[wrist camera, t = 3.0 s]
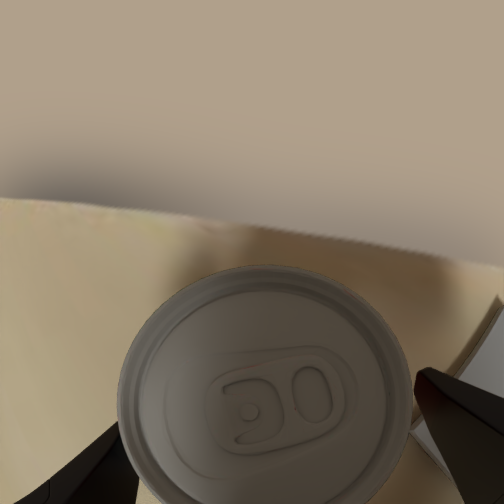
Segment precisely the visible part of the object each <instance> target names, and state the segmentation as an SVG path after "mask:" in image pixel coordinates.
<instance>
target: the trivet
mask: <svg viewBox="0 0 504 504" xmlns="http://www.w3.org/2000/svg"><path fill="white" fill-rule="evenodd" d="M454 378H457V379H459V380H461V381H464V382H466V383H469V384H471V385H473V386H476V387H478V388H481V389H483V390H485V391H488V392H490V393H493V394H495V395H498V396H500V397H503V398H504V306H502V307H500V308H499V309H498V311H497V312H496V314H495V316H494V318H493V319H492V321H491V323H490V324H489V326H488V328H487V329H486V331H485V333H484V334H483V336H482V337H481V339H480V340H479V342H478V343H477V345H476V346H475V348H474V349H473V351H472V352H471V354H470V355H469V357H468V358H467V359H466V361H465V362H464V364H463V365H462V366H461V368H460V369H459V370H458V372H457V373H456V374H455V376H454ZM409 433H410V434H411V435H412V436H413V437H414V439H415V440H416V441H417V442H418V443H419V444H420V446H421V447H422V448H423V449H424V450H425V451H426V452H427V454H428V455H429V456H430V457H431V458H432V459H433V461H434V462H435V463H436V464H437V465H438V466H439V468H440V469H441V470H442V471H443V472H444V473H445V475H446V476H447V477H448V478H449V479H450V480H451V481H452V483H453V484H454V485H455V486H456V484H455V482H454V480H453V478H452V476H451V473H450V471H449V469H448V467H447V465H446V463H445V462H444V460H443V458H442V456H441V454H440V452H439V450H438V448H437V446H436V444H435V442H434V440H433V439H432V437H431V435H430V433H429V430H428V428H427V425H426V423H425V420H424V418H423V415H422V414H421V416H420V417H419V418H418V419H417V420H416V421H415V422H414V423H413V424H412V425H411V426H410V431H409ZM456 487H457V486H456Z"/></svg>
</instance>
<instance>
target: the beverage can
mask: <svg viewBox="0 0 504 504" xmlns="http://www.w3.org/2000/svg"><path fill="white" fill-rule="evenodd" d="M412 412H413V392H412V382H411V377H410V372H409V368H408V365H407V361H406V358H405V355H404V353H403V351H402V348H401V346H400V344H399V342H398V340H397V338H396V336H395V335H394V333H393V332H392V330H391V329H390V327H389V326H388V324H387V323H386V322H385V320H384V319H383V318H382V316H381V315H380V314H379V313H378V312H377V311H376V310H375V309H374V308H373V307H372V306H371V305H370V304H369V303H368V302H366V301H365V300H364V299H363V298H362V297H360V296H359V295H358V294H356V293H355V292H353V291H352V290H350V289H349V288H347V287H346V286H344V285H343V284H340V283H338V282H336V281H334V280H332V279H330V278H328V277H325V276H323V275H321V274H318V273H314V272H311V271H308V270H304V269H300V268H295V267H287V266H278V265H254V266H244V267H238V268H234V269H229V270H224V271H221V272H218V273H215V274H212V275H210V276H207V277H205V278H202V279H200V280H198V281H196V282H194V283H192V284H190V285H189V286H187V287H185V288H183V289H182V290H180V291H179V292H177V293H176V294H175V295H173V296H172V297H171V298H169V299H168V300H167V301H166V302H164V303H163V304H162V305H161V306H160V307H159V308H158V309H157V310H156V311H155V312H154V313H153V314H152V315H151V316H150V318H149V319H148V320H147V321H146V322H145V324H144V325H143V326H142V328H141V329H140V331H139V332H138V334H137V336H136V337H135V339H134V340H133V342H132V344H131V346H130V348H129V350H128V353H127V355H126V358H125V360H124V363H123V367H122V370H121V374H120V379H119V383H118V392H117V417H118V424H119V431H120V435H121V438H122V442H123V445H124V448H125V451H126V453H127V456H128V458H129V460H130V462H131V464H132V466H133V468H134V469H135V471H136V473H137V475H138V476H139V477H140V479H141V480H142V482H143V483H144V484H145V486H146V487H147V488H148V489H149V490H150V492H151V493H152V494H153V495H154V496H155V497H156V498H157V499H158V500H159V501H160V502H161V503H162V504H365V503H366V502H368V501H369V500H370V499H371V498H372V497H373V496H374V495H375V494H376V492H377V491H378V490H379V489H380V488H381V487H382V486H383V484H384V483H385V482H386V481H387V479H388V478H389V476H390V475H391V473H392V472H393V470H394V468H395V466H396V465H397V463H398V461H399V459H400V457H401V455H402V452H403V450H404V447H405V444H406V441H407V438H408V435H409V431H410V426H411V420H412Z"/></svg>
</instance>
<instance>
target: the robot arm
mask: <svg viewBox="0 0 504 504" xmlns="http://www.w3.org/2000/svg"><path fill="white" fill-rule="evenodd" d="M414 395H415V398H416V400H417V403H418V405H419V408H420V410H421V413H422V415H423V418H424V420H425V423H426V425H427V428H428V430H429V433H430V435H431V437H432V439H433V440H434V442H435V444H436V446H437V448H438V450H439V452H440V454H441V456H442V458H443V460H444V462H445V463H446V465H447V467H448V469H449V471H450V473H451V476H452V478H453V480H454V482H455V484H456V486H457V488H458V490H459V492H460V494H461V496H462V499H463V501H464V503H465V504H504V398H503V397H500V396H498V395H495V394H493V393H490V392H488V391H485V390H483V389H481V388H478V387H476V386H473V385H471V384H469V383H466V382H464V381H461V380H459V379H457V378H454V377H452V376H450V375H447V374H445V373H443V372H440V371H438V370H436V369H434V368H431V367H427V368H424V369H422V370H419V371H418V372H417V375H416V380H415V385H414ZM138 485H139V476H138V475H137V473H136V471H135V469H134V468H133V466H132V464H131V462H130V460H129V458H128V456H127V453H126V451H125V448H124V445H123V442H122V438H121V435H120V431H119V424H118V421H117V422H116V423H115V424H113V425H112V426H111V427H110V428H109V429H108V430H107V431H105V432H104V433H103V434H102V435H101V436H100V437H98V438H97V439H96V440H95V441H94V442H93V443H91V444H90V445H89V446H88V447H87V448H86V449H84V450H83V451H82V452H81V453H80V454H79V455H77V456H76V457H75V458H74V459H73V460H71V461H70V462H69V463H68V464H67V465H65V466H64V467H63V468H62V469H61V470H59V471H58V472H57V473H56V474H54V475H53V476H52V477H51V478H50V479H48V480H47V481H46V482H44V483H43V484H42V485H41V486H39V487H38V488H37V489H35V490H34V491H33V492H31V493H30V494H28V495H27V496H25V497H24V498H22V499H20V500H19V501H17V502H15V503H14V504H136V497H137V491H138Z"/></svg>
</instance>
